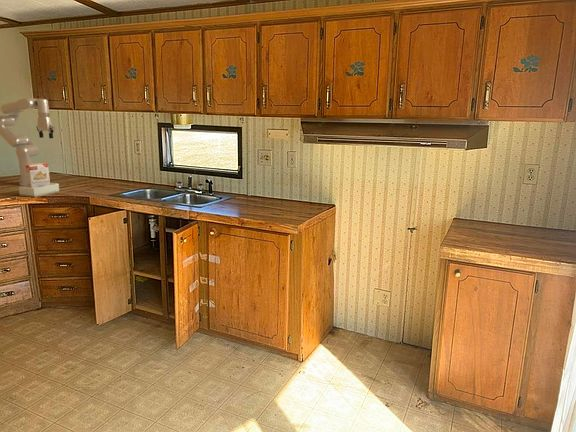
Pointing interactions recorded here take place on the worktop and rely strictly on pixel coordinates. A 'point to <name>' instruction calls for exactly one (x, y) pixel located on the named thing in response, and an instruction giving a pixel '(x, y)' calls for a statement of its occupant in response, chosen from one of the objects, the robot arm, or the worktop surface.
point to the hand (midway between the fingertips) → (46, 137)
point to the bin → (39, 190)
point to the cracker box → (37, 175)
